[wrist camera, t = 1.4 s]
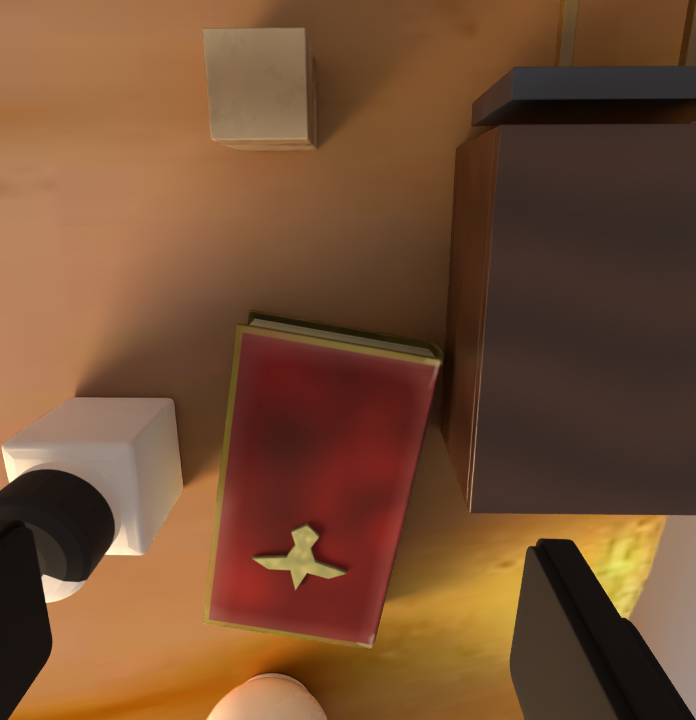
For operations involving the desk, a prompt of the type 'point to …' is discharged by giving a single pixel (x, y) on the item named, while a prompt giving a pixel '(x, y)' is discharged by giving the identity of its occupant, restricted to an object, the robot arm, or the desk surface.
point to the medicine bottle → (92, 483)
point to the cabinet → (573, 320)
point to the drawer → (593, 87)
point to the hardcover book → (316, 476)
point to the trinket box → (268, 701)
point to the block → (261, 88)
